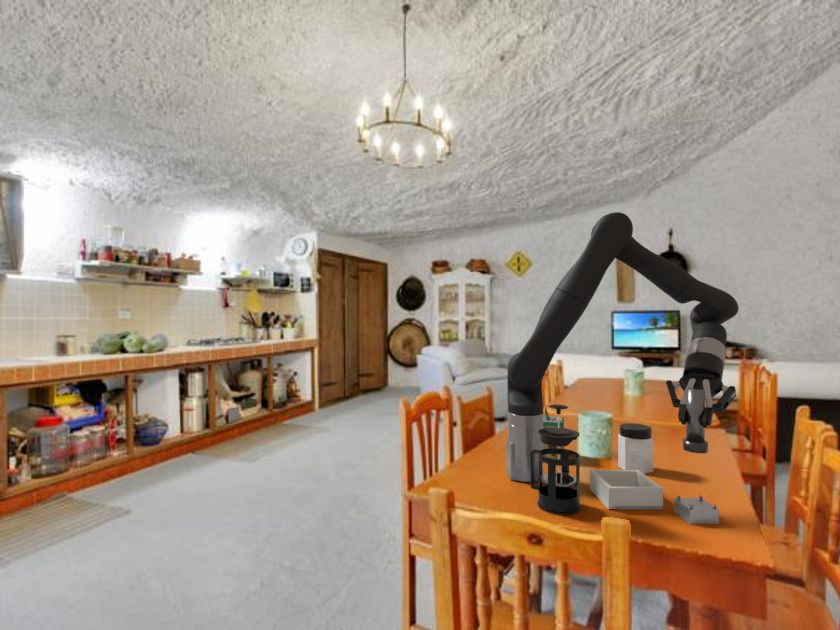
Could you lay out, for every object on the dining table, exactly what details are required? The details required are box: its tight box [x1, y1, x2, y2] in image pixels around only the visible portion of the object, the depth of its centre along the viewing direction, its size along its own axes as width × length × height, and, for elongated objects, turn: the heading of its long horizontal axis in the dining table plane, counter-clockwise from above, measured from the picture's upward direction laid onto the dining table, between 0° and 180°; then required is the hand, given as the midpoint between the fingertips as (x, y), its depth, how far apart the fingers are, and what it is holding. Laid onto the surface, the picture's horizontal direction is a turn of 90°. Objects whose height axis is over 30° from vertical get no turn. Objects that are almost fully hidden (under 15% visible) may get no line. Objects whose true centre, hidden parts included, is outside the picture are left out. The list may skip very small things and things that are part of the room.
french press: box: [530, 403, 582, 516], centre depth 106 cm, size 12×9×23 cm
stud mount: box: [673, 494, 720, 525], centre depth 99 cm, size 6×6×4 cm
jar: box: [617, 422, 654, 475], centre depth 130 cm, size 9×8×12 cm
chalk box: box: [543, 406, 565, 460], centre depth 142 cm, size 9×9×15 cm
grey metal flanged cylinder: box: [682, 388, 709, 454], centre depth 99 cm, size 5×5×13 cm
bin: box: [589, 469, 664, 511], centre depth 109 cm, size 12×12×5 cm
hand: (693, 423), depth 98 cm, fingers closed on grey metal flanged cylinder, 3 cm apart
